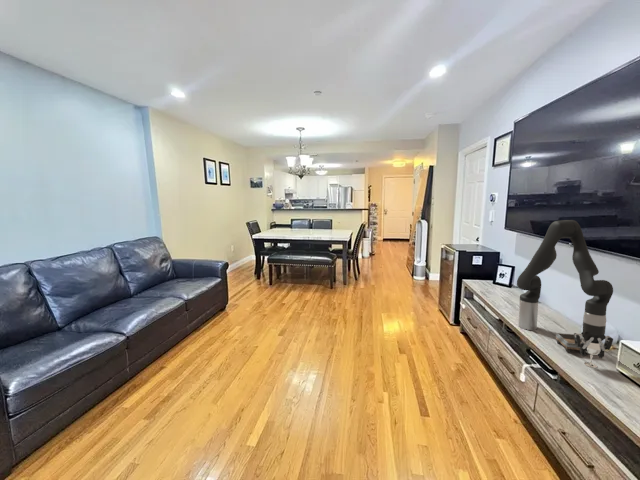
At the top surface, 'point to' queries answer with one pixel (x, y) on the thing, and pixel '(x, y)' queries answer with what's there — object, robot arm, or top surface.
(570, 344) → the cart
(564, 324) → the top surface
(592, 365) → the wineglass
